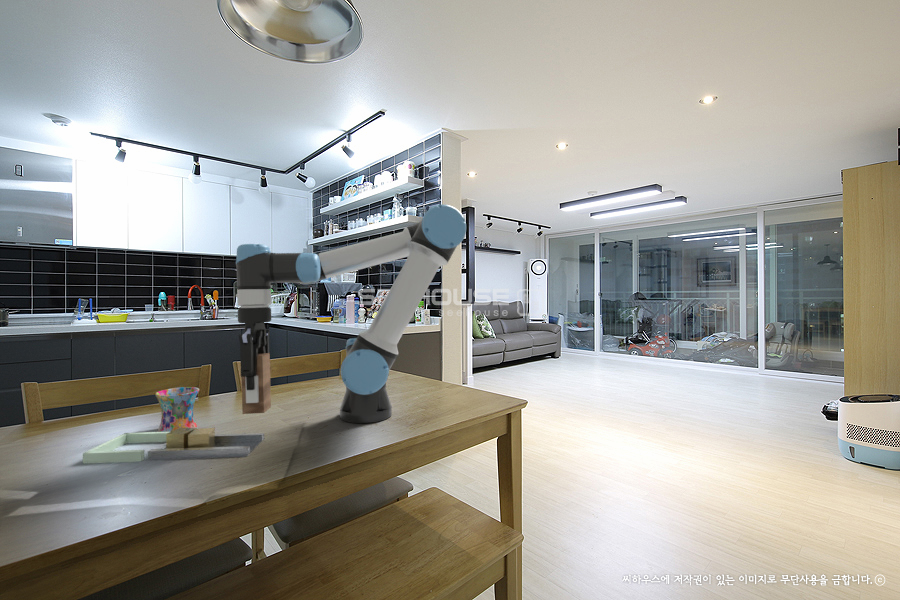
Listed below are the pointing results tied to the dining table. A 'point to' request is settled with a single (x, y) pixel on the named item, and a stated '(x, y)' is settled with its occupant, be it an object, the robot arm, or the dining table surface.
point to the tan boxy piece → (201, 438)
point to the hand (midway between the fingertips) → (256, 399)
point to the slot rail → (213, 448)
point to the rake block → (259, 387)
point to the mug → (177, 408)
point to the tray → (107, 454)
